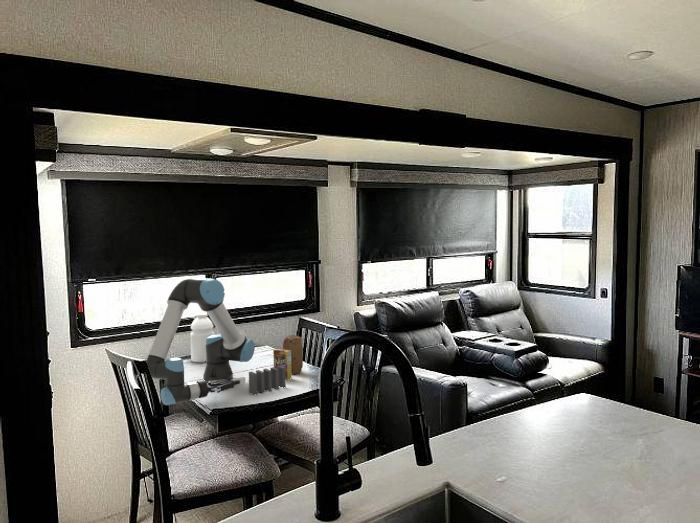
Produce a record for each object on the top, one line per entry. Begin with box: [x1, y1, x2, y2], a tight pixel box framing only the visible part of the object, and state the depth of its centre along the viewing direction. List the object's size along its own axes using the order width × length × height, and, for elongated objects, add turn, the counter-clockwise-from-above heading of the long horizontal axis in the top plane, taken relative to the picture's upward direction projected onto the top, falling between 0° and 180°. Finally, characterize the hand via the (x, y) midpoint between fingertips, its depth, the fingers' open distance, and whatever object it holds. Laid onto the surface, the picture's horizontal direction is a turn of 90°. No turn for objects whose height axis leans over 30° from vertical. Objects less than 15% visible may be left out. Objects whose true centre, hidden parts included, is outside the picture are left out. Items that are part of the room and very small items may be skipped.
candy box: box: [272, 348, 293, 381], centre depth 285 cm, size 9×4×15 cm, turn 61°
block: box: [282, 334, 304, 375], centre depth 295 cm, size 11×8×20 cm
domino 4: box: [269, 366, 280, 390], centre depth 268 cm, size 5×2×10 cm, turn 39°
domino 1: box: [248, 371, 258, 396], centre depth 261 cm, size 5×2×10 cm, turn 39°
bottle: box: [189, 312, 215, 363], centre depth 324 cm, size 14×14×28 cm
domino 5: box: [277, 366, 287, 389], centre depth 271 cm, size 5×2×10 cm, turn 39°
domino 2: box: [255, 369, 266, 394], centre depth 263 cm, size 5×2×10 cm, turn 39°
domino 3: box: [262, 368, 273, 392], centre depth 266 cm, size 5×2×10 cm, turn 39°
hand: (244, 380), depth 257 cm, fingers closed
